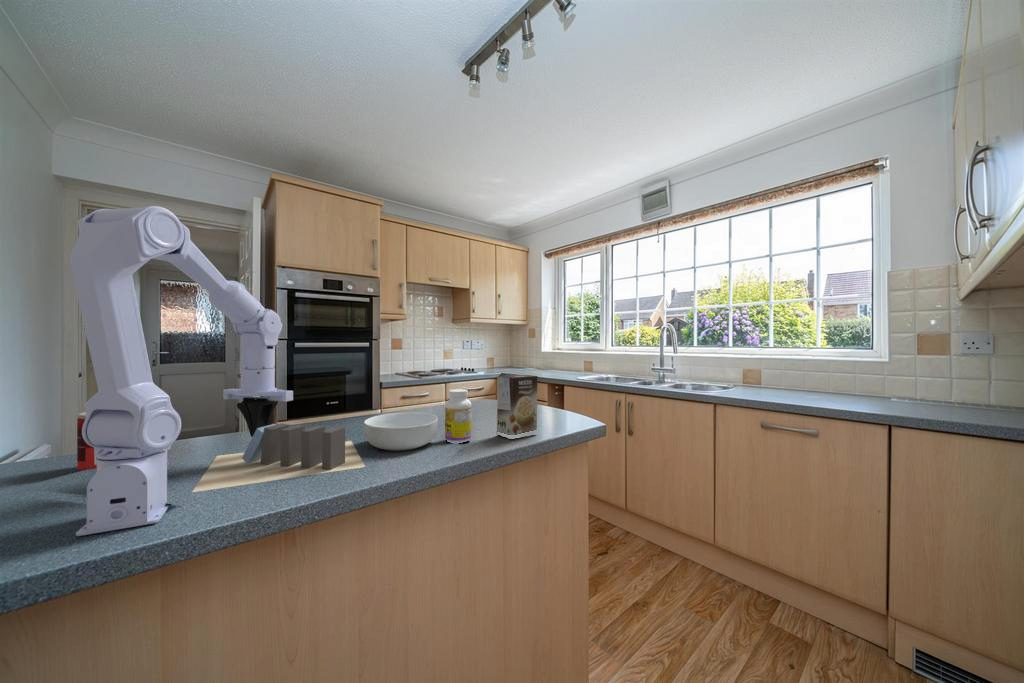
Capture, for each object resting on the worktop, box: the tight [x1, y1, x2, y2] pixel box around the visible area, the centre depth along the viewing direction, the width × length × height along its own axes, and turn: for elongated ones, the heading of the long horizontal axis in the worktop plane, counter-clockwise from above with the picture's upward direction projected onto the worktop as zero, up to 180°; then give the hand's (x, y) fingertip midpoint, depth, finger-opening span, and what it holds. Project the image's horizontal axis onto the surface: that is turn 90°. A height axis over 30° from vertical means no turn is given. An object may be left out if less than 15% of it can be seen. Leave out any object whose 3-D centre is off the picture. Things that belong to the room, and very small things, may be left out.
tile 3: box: [280, 424, 306, 467], centre depth 76 cm, size 2×4×7 cm, turn 169°
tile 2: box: [260, 422, 290, 465], centre depth 76 cm, size 2×4×7 cm, turn 169°
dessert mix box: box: [496, 374, 538, 435], centre depth 103 cm, size 9×6×16 cm
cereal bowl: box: [363, 411, 439, 452], centre depth 90 cm, size 17×17×7 cm
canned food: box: [76, 411, 97, 473], centre depth 75 cm, size 8×8×11 cm
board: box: [191, 440, 366, 494], centre depth 77 cm, size 22×26×1 cm
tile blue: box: [242, 423, 277, 464], centre depth 77 cm, size 2×4×7 cm, turn 169°
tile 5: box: [322, 426, 346, 470], centre depth 74 cm, size 2×4×7 cm, turn 169°
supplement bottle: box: [444, 388, 472, 441], centre depth 97 cm, size 7×7×13 cm
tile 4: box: [301, 425, 326, 468], centre depth 75 cm, size 2×4×7 cm, turn 169°
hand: (257, 435), depth 77 cm, fingers closed
